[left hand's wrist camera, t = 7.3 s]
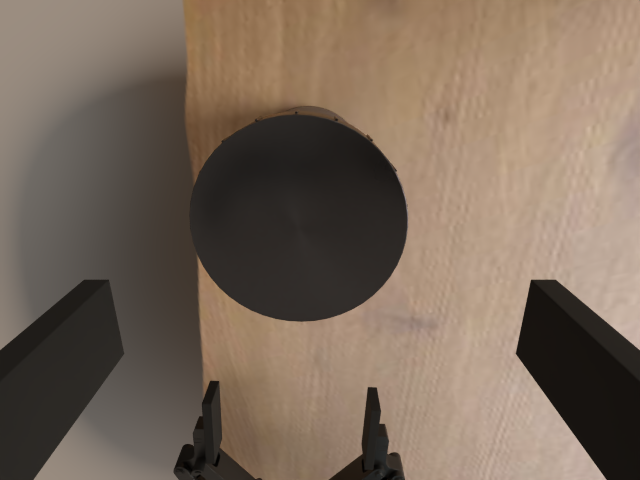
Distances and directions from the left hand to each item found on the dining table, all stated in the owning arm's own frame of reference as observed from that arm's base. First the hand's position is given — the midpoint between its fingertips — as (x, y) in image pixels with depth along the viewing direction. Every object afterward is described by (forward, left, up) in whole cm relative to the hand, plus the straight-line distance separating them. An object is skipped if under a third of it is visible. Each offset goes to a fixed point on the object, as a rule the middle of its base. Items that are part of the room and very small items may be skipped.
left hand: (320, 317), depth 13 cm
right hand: (+17, +2, -16) cm, 24 cm away
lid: (-1, -1, -7) cm, 7 cm away
